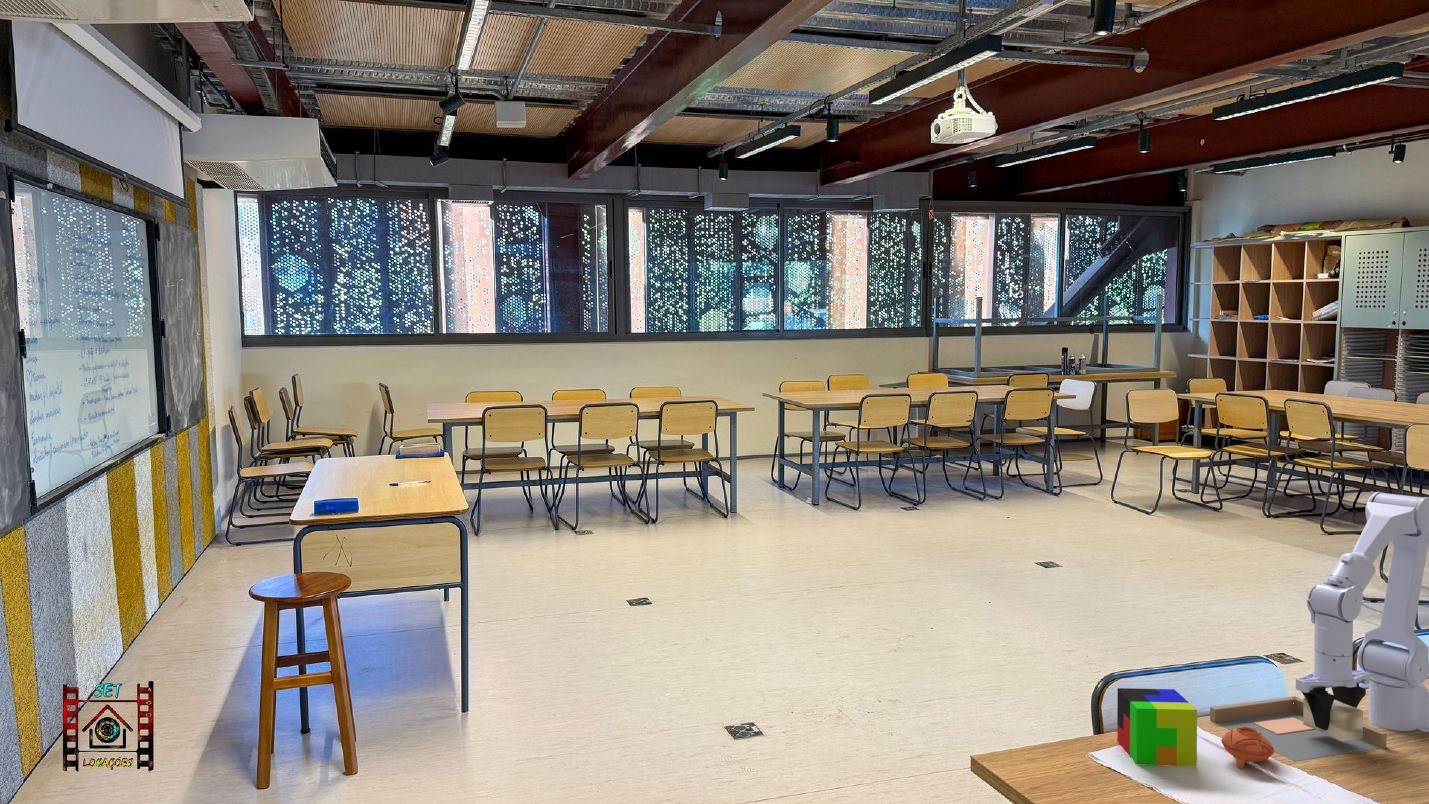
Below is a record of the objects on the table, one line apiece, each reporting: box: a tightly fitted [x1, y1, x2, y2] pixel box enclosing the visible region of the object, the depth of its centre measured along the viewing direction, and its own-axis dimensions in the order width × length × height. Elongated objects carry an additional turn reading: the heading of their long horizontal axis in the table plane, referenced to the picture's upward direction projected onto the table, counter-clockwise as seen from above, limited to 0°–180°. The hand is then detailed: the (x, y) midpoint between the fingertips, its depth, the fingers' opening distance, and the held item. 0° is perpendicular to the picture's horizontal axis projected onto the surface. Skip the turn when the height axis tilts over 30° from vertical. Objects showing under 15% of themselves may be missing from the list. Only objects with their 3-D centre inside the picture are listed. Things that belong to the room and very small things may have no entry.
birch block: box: [1303, 697, 1364, 742], centre depth 167 cm, size 4×8×5 cm, turn 15°
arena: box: [1209, 695, 1388, 762], centre depth 171 cm, size 20×19×3 cm
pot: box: [1220, 726, 1275, 770], centre depth 160 cm, size 8×8×7 cm
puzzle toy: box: [1116, 687, 1198, 767], centre depth 165 cm, size 10×10×10 cm
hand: (1332, 726), depth 167 cm, fingers closed on birch block, 4 cm apart
